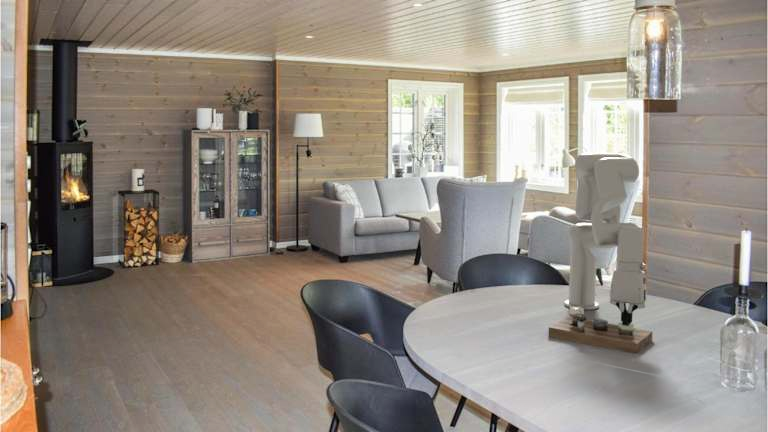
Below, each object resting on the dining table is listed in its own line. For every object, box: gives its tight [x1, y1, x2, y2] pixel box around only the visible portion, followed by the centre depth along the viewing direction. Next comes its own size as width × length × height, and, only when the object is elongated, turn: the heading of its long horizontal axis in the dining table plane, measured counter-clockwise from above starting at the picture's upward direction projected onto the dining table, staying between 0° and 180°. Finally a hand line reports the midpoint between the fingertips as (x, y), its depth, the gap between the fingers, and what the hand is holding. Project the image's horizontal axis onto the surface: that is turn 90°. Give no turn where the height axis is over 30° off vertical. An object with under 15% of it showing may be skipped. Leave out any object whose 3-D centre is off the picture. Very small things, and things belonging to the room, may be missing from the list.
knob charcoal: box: [592, 318, 609, 331], centre depth 223 cm, size 4×4×5 cm
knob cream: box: [568, 307, 585, 325], centre depth 228 cm, size 4×4×5 cm
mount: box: [548, 316, 654, 354], centre depth 224 cm, size 16×28×3 cm, turn 54°
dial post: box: [576, 315, 588, 333], centre depth 220 cm, size 3×3×5 cm
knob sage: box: [618, 321, 634, 336], centre depth 219 cm, size 4×4×5 cm
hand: (626, 324), depth 218 cm, fingers closed
